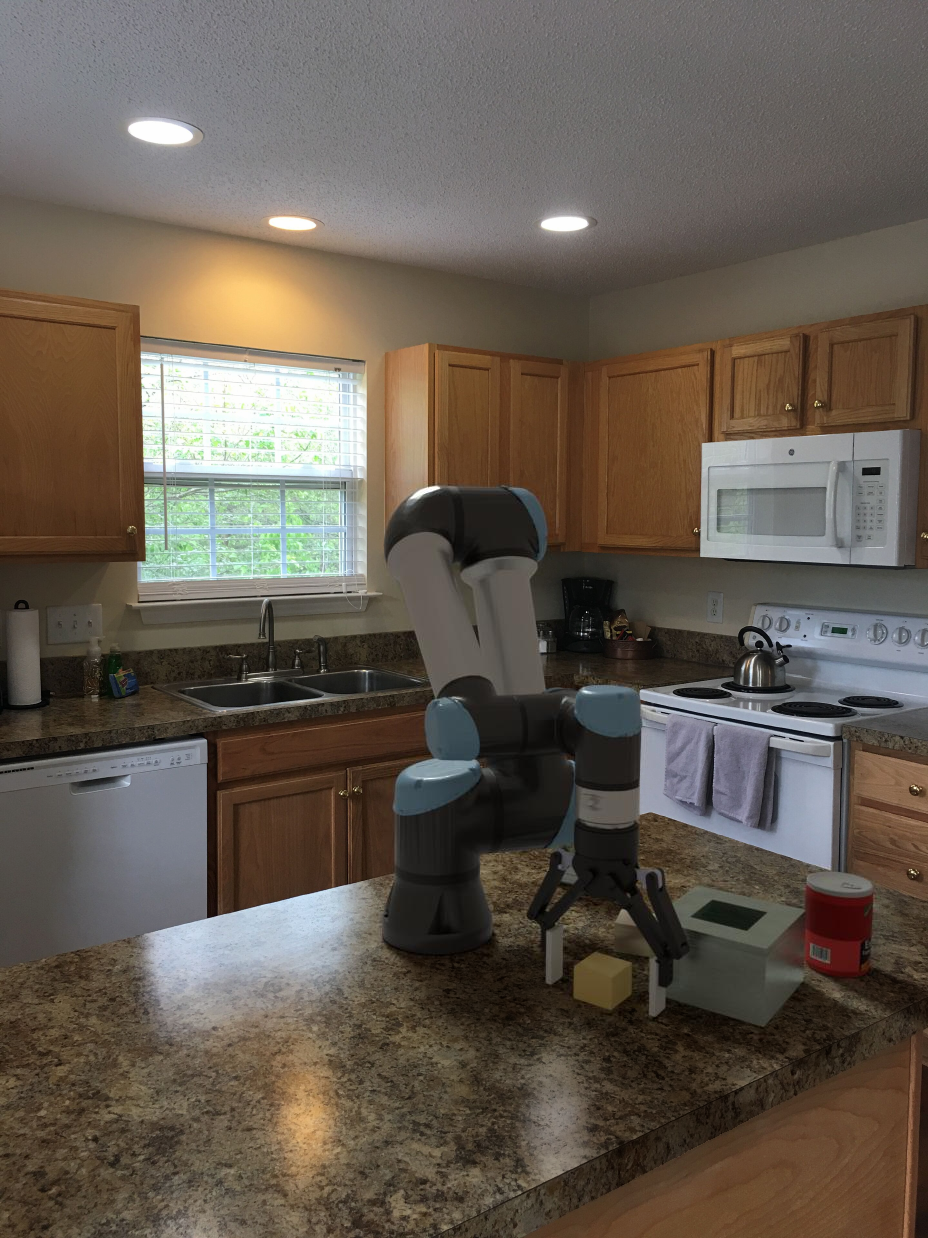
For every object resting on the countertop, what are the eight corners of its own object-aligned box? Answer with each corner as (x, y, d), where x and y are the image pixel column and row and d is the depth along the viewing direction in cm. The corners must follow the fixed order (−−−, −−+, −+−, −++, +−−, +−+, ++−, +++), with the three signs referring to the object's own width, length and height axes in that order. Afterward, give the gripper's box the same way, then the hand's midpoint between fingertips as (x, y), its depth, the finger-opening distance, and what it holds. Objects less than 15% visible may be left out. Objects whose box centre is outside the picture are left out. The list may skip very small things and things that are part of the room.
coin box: (648, 992, 120) (650, 919, 119) (695, 952, 131) (697, 885, 130) (763, 1027, 111) (766, 949, 111) (803, 981, 123) (805, 910, 122)
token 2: (613, 952, 131) (614, 923, 131) (621, 937, 136) (621, 909, 135) (652, 958, 129) (652, 928, 129) (658, 943, 134) (659, 914, 134)
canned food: (875, 982, 123) (879, 895, 122) (807, 975, 124) (810, 889, 123) (863, 955, 130) (867, 873, 129) (799, 950, 132) (802, 869, 131)
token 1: (573, 999, 118) (573, 966, 118) (594, 983, 122) (595, 952, 122) (611, 1011, 115) (611, 978, 115) (631, 995, 119) (632, 963, 119)
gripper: (499, 809, 121) (498, 978, 123) (695, 848, 106) (690, 1039, 108) (532, 796, 127) (531, 957, 129) (721, 831, 112) (717, 1012, 114)
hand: (603, 995), depth 118 cm, fingers open, 13 cm apart
